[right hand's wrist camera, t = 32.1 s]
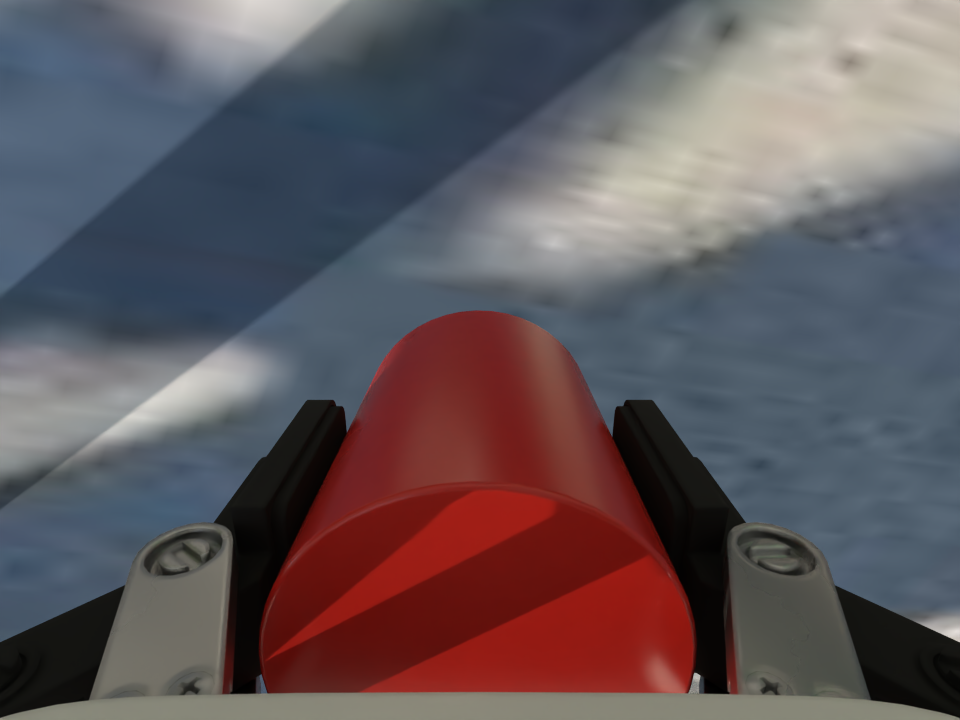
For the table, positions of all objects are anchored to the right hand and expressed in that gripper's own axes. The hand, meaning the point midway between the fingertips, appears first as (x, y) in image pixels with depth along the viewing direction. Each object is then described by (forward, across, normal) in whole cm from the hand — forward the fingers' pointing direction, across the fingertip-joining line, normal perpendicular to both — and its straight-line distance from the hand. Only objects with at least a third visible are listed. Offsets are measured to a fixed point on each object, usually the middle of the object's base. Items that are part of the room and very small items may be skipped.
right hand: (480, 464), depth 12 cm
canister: (+3, 0, 0) cm, 3 cm away
